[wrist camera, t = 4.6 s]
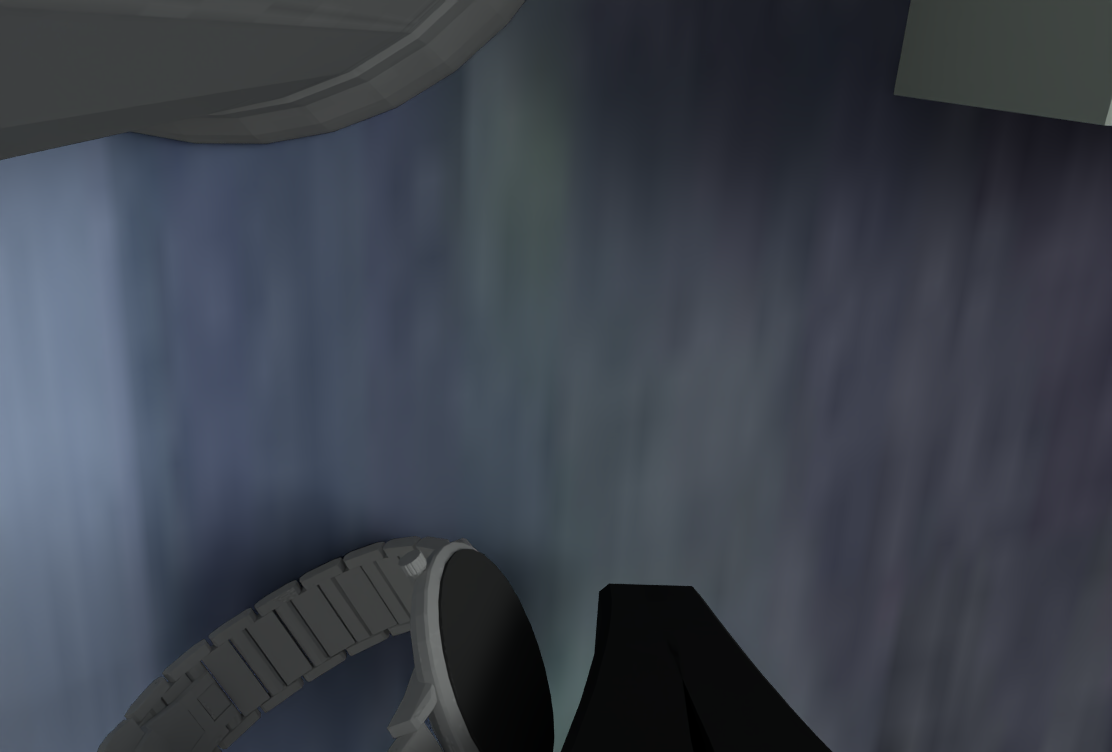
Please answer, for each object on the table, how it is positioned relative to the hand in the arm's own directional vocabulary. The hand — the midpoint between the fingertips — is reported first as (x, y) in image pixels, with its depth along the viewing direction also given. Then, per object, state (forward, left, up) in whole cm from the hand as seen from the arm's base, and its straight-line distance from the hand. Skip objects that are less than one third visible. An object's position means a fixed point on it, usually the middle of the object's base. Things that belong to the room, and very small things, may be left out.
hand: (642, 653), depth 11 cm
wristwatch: (+4, 0, -2) cm, 4 cm away
